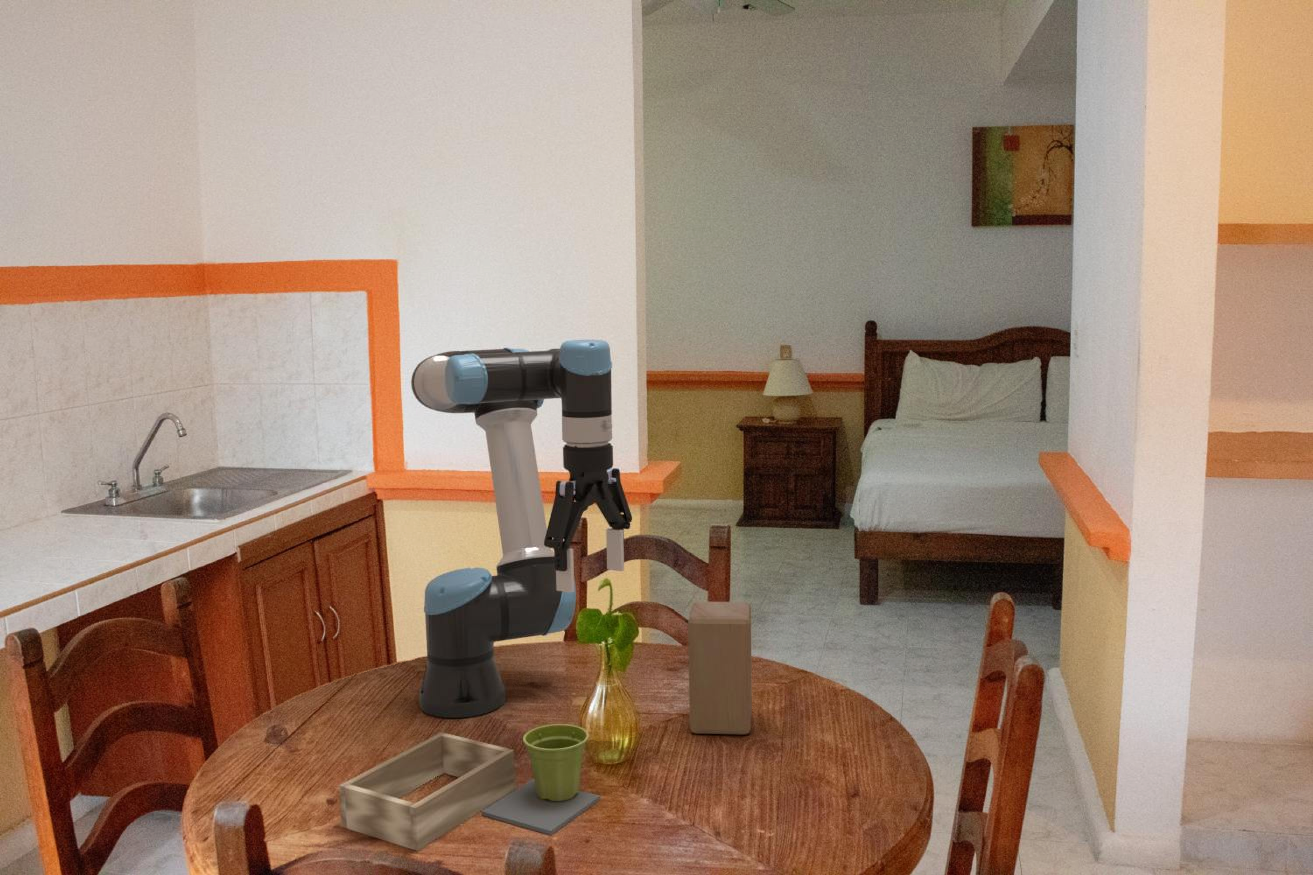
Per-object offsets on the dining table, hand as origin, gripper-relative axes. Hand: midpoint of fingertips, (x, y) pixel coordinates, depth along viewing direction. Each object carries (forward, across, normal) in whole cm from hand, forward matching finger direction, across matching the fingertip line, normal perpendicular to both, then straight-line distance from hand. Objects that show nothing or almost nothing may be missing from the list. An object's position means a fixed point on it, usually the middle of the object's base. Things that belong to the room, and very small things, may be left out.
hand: (591, 580), depth 176 cm
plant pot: (+28, -14, -3) cm, 32 cm away
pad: (+29, -18, -3) cm, 34 cm away
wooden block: (+29, +21, -11) cm, 38 cm away
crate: (+29, -25, +11) cm, 40 cm away
